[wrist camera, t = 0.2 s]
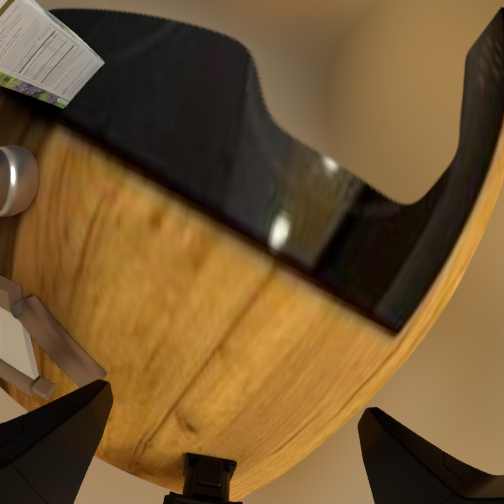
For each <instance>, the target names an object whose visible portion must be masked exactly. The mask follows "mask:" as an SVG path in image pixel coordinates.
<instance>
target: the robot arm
mask: <svg viewBox="0 0 504 504" xmlns="http://www.w3.org/2000/svg"><path fill="white" fill-rule="evenodd" d="M112 405H113V395H112V390H111V385H110V383H109V382H108V381H105V380H102V379H97V380H95V381H93V382H91V383H89V384H87V385H85V386H83V387H81V388H79V389H77V390H75V391H73V392H71V393H69V394H67V395H65V396H62V397H60V398H58V399H56V400H54V401H52V402H50V403H48V404H46V405H43V406H41V407H39V408H37V409H35V410H32V411H30V412H28V413H26V415H25V414H24V415H21V416H19V417H17V418H14V419H12V420H9V421H7V422H4V423H1V424H0V504H74V501H75V499H76V496H77V494H78V491H79V489H80V486H81V484H82V481H83V479H84V477H85V474H86V472H87V470H88V467H89V465H90V463H91V461H92V458H93V456H94V454H95V452H96V449H97V447H98V445H99V443H100V440H101V438H102V435H103V433H104V429H105V426H106V423H107V420H108V417H109V414H110V411H111V408H112ZM358 433H359V439H360V445H361V451H362V457H363V461H364V465H365V469H366V473H367V476H368V480H369V483H370V487H371V491H372V495H373V499H374V502H375V504H504V475H491V474H488V473H486V472H483V471H481V470H479V469H477V468H474V467H472V466H470V465H468V464H466V463H464V462H462V461H460V460H458V459H456V458H454V457H453V456H451V455H449V454H448V453H446V452H444V451H442V450H441V449H439V448H438V447H436V446H435V445H433V444H431V443H430V442H428V441H427V440H425V439H424V438H422V437H421V436H419V435H418V434H416V433H415V432H413V431H411V430H410V429H408V428H407V427H406V426H404V425H402V424H401V423H400V422H398V421H396V420H395V419H394V418H392V417H391V416H389V415H388V414H386V413H385V412H384V411H382V410H381V409H379V408H378V407H369V408H367V409H366V410H365V411H364V413H363V415H362V417H361V419H360V420H359V423H358ZM236 466H237V462H236V461H231V460H224V459H217V458H211V457H206V456H200V455H195V454H190V453H187V454H186V456H185V463H184V471H183V475H184V476H185V481H184V487H183V493H182V494H177V493H174V492H171V491H170V494H169V495H165V497H164V502H163V504H242V502H231V501H229V490H230V480H231V478H232V476H233V473H234V471H235V468H236Z"/></svg>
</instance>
